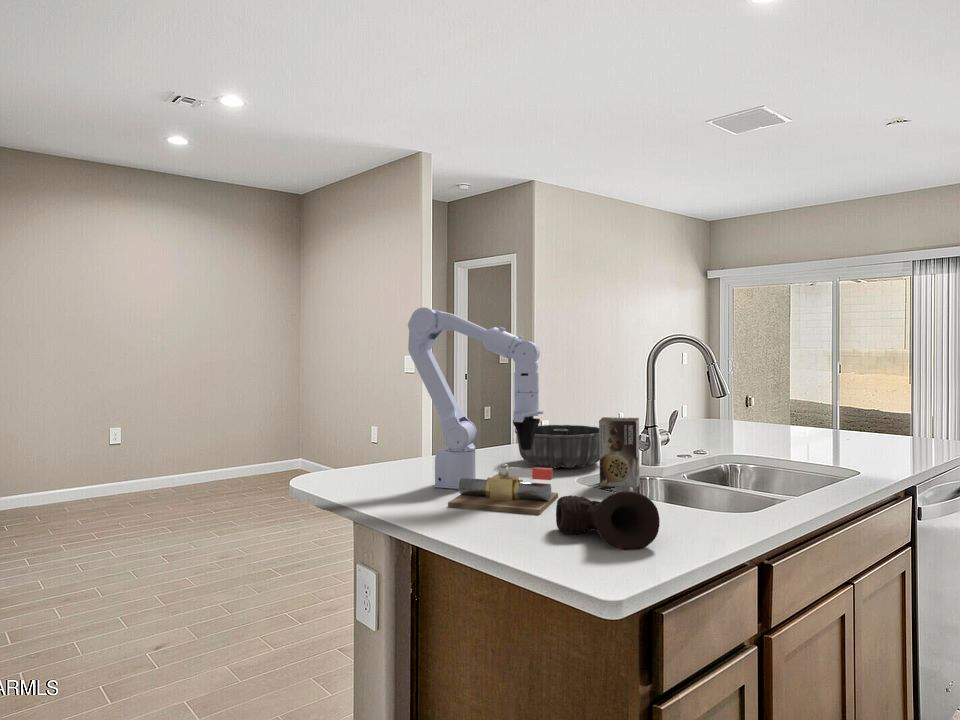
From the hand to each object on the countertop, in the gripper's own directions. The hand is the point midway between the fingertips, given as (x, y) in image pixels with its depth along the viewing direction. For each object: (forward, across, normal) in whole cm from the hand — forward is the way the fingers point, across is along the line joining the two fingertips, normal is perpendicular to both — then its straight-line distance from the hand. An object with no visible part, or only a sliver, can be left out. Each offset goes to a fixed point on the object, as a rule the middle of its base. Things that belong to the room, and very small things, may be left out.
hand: (526, 449), depth 160 cm
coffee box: (+10, +12, -20) cm, 25 cm away
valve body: (+9, -14, +1) cm, 17 cm away
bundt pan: (+10, +35, 0) cm, 36 cm away
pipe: (+10, -34, -24) cm, 42 cm away
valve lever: (+4, -14, -4) cm, 15 cm away
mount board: (+9, -14, +1) cm, 17 cm away
